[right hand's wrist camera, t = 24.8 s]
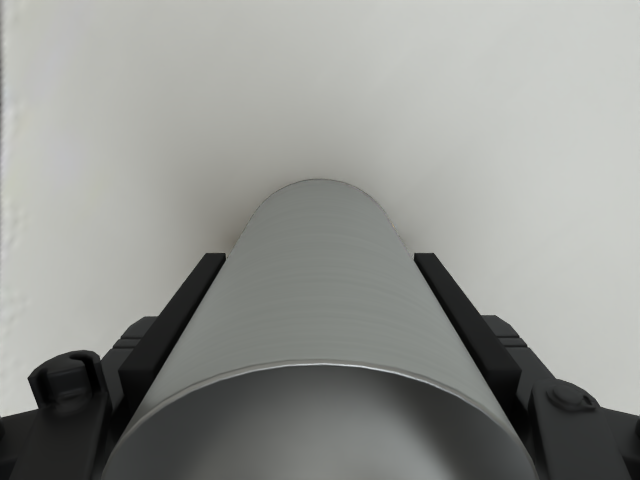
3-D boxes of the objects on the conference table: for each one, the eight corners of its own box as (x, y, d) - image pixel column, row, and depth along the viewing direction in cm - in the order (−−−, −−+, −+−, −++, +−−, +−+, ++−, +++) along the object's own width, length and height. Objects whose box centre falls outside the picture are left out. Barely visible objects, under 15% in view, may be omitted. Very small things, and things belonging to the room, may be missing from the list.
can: (399, 313, 18) (523, 642, 7) (257, 326, 19) (164, 663, 7) (393, 169, 16) (575, 335, 5) (228, 188, 16) (18, 388, 5)
